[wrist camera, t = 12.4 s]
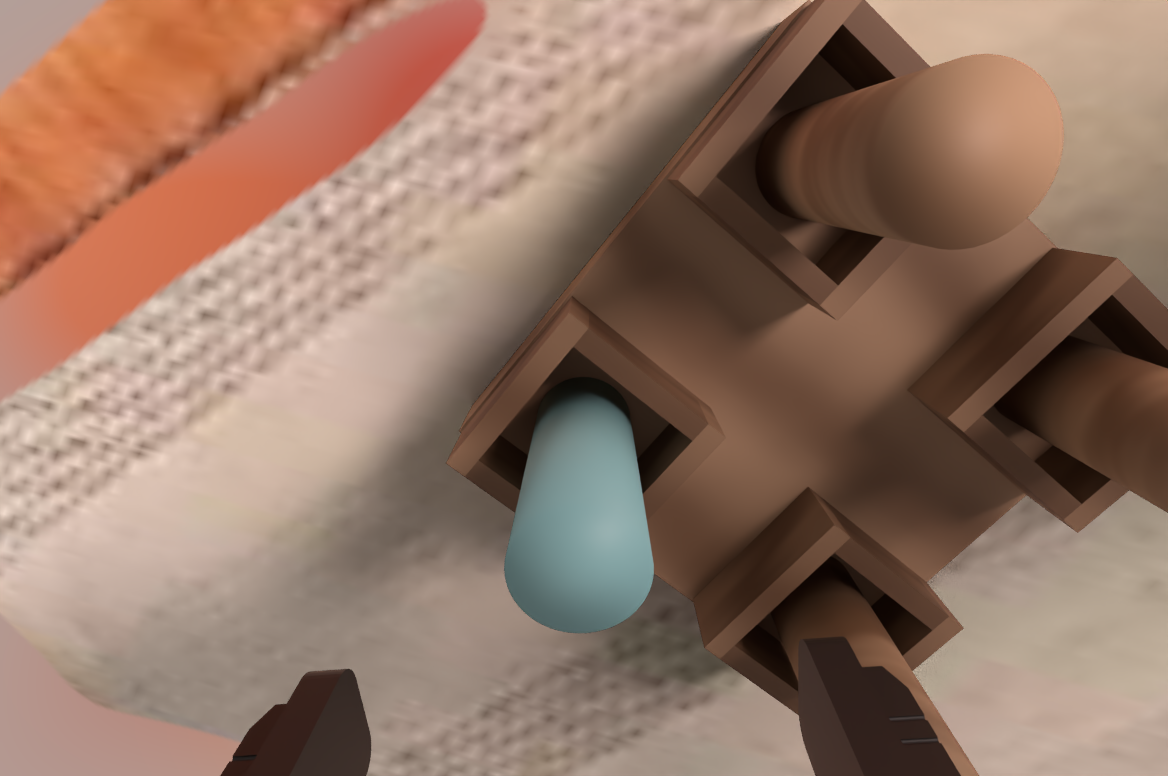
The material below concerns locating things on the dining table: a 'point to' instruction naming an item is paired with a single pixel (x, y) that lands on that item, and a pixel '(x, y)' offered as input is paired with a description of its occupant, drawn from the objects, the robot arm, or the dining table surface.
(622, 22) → the dining table surface
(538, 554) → the loose leg
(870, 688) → the robot arm
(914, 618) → the stool seat
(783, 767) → the dining table surface
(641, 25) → the dining table surface
